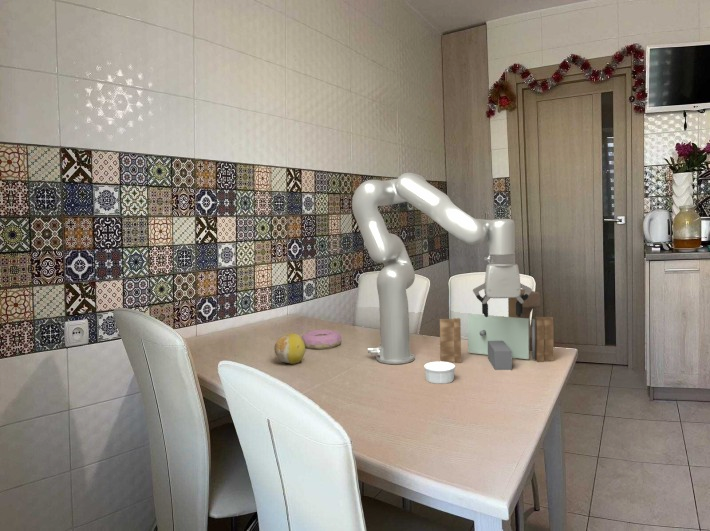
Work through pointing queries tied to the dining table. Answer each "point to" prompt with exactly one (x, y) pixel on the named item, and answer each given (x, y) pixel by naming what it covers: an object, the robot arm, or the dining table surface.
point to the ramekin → (439, 372)
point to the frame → (452, 339)
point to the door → (500, 334)
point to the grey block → (499, 355)
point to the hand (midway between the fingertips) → (502, 316)
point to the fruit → (290, 348)
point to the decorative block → (525, 309)
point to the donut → (321, 339)
